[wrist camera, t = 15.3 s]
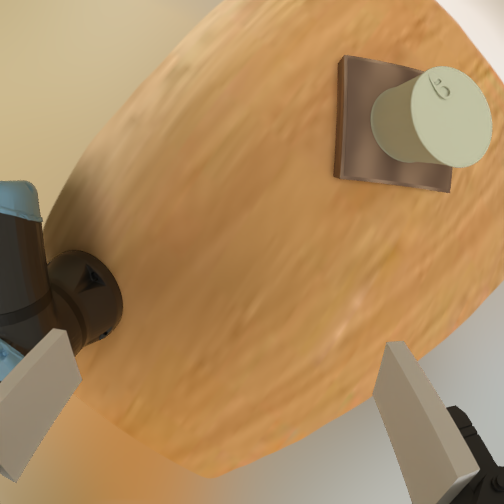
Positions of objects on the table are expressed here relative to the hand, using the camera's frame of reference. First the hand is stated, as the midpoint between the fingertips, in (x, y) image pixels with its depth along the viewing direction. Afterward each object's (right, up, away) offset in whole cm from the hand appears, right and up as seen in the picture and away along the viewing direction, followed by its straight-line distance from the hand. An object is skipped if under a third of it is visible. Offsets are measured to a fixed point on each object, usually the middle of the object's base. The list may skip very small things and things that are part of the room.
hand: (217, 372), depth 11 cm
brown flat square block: (+19, +21, +24) cm, 37 cm away
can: (+19, +20, +20) cm, 34 cm away
